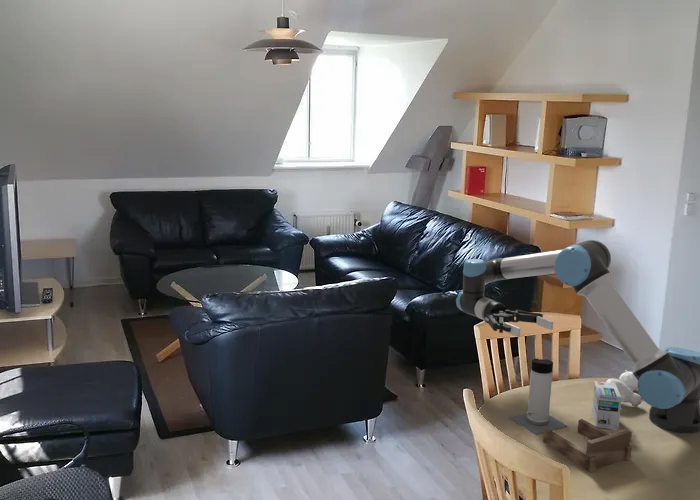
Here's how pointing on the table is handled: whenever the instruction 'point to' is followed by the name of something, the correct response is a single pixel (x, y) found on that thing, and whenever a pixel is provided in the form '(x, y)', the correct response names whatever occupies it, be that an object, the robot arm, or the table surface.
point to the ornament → (629, 380)
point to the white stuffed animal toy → (626, 393)
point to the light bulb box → (606, 405)
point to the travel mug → (539, 391)
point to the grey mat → (536, 429)
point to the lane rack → (592, 446)
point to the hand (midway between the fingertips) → (536, 329)
